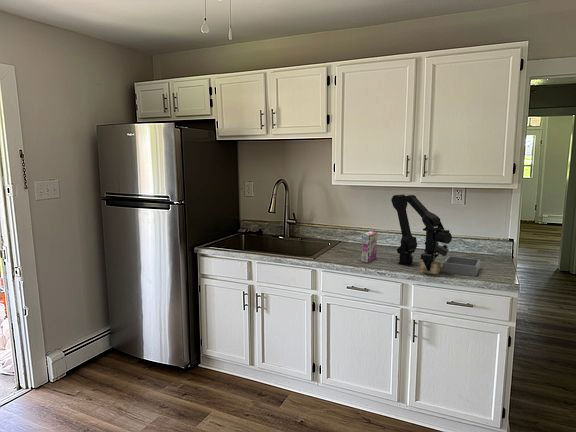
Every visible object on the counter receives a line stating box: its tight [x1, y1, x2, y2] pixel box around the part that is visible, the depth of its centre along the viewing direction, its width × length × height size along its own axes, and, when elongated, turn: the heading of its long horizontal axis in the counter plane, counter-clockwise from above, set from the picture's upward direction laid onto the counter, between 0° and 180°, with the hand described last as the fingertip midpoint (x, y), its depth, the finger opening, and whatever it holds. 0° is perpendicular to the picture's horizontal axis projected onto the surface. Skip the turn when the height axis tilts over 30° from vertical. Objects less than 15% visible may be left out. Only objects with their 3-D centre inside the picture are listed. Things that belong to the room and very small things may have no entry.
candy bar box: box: [360, 230, 378, 264], centre depth 234 cm, size 11×5×16 cm, turn 145°
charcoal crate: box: [442, 255, 481, 277], centre depth 215 cm, size 16×16×5 cm
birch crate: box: [419, 259, 441, 275], centre depth 214 cm, size 9×6×5 cm
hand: (430, 269), depth 214 cm, fingers closed on birch crate, 6 cm apart
